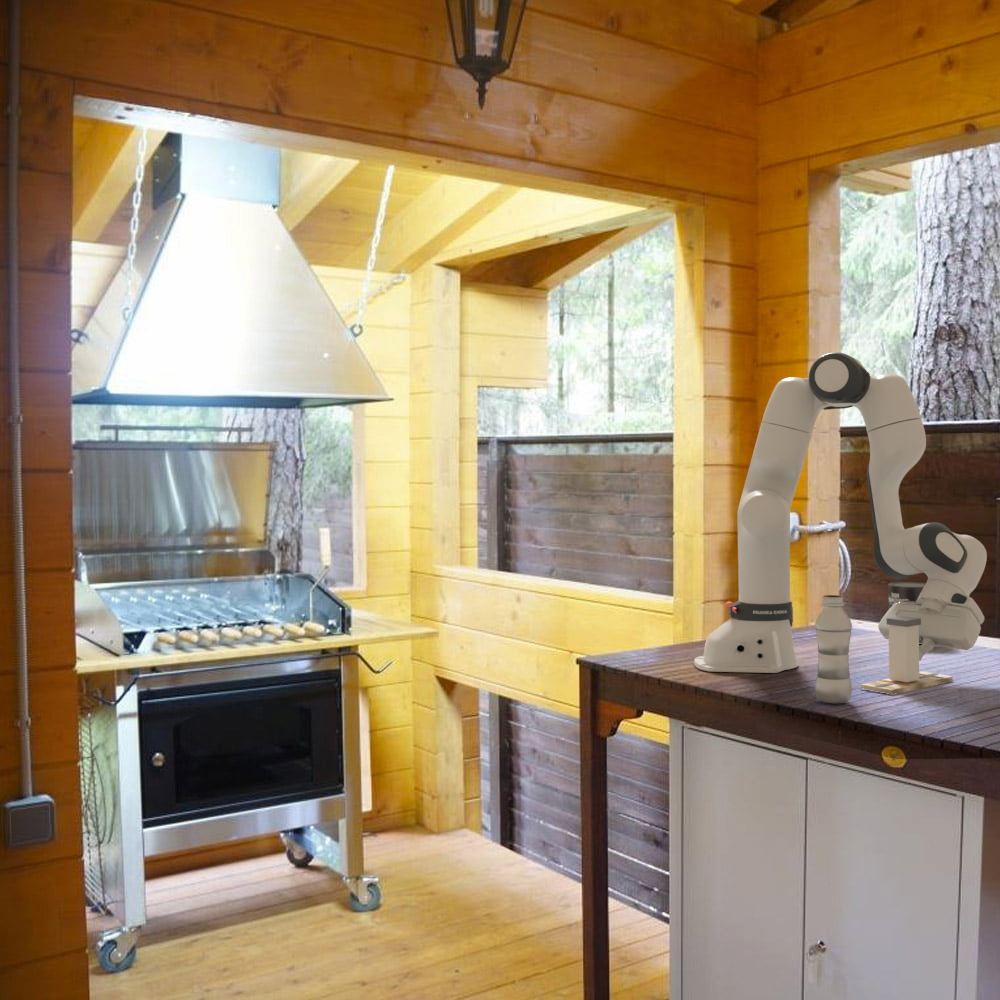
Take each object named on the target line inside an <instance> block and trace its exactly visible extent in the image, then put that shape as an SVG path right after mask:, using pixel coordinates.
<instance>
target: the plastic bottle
mask: <svg viewBox="0 0 1000 1000" xmlns="http://www.w3.org/2000/svg"><path fill="white" fill-rule="evenodd" d="M821 606H822V607H823V609H822V611H821V612H820V613H819V614H818V617H816V620H815V623H814V627H815V635H816V642H817V652H818V662H817V674H816V675H817V677H816V679H815V685H814V690H815V695H816V698H817V699H818V701H820V702H823V703H827V704H831V703H838V704H842V703H848V702H849V701H850V700H851V698H852V694H853V685H852V680H851V676H850V675H851V674H850V673H851V672H850V663H849V662H850V661H849V656H850V655H849V653H850V644H851V643H850V642H851V636H852V628H853V625H852V622H851V619H850V617H849V616H848V615H847V613H846V612H845V610H844V609H843V607H845V603H844V596H843V595H840V594H839V595H838V594H825V595H822V603H821Z"/></svg>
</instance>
